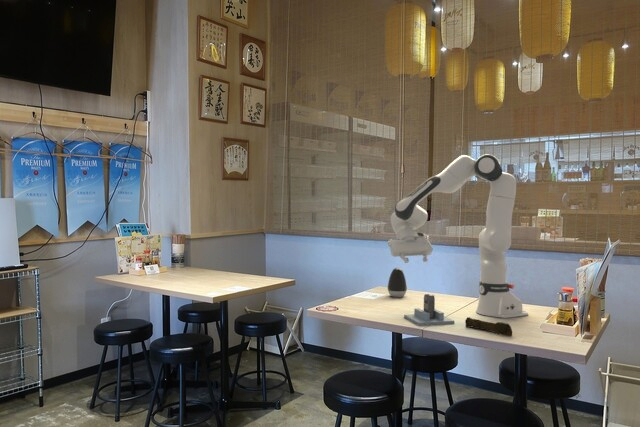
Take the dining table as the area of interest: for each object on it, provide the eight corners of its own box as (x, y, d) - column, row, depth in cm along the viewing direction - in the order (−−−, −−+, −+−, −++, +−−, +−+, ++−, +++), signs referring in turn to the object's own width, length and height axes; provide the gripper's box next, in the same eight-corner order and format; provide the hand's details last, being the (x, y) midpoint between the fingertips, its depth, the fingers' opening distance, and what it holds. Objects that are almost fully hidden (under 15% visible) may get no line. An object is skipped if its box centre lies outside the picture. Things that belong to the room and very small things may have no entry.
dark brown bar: (464, 327, 192) (464, 316, 192) (470, 325, 195) (470, 314, 194) (508, 338, 177) (508, 326, 177) (513, 336, 180) (514, 324, 180)
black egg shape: (404, 294, 258) (404, 266, 258) (408, 298, 248) (409, 269, 248) (385, 294, 258) (385, 266, 257) (389, 298, 247) (390, 269, 247)
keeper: (437, 315, 210) (437, 306, 210) (454, 323, 197) (454, 313, 197) (404, 317, 206) (404, 307, 206) (418, 325, 193) (419, 315, 193)
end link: (429, 316, 204) (430, 293, 203) (434, 318, 200) (434, 294, 200) (423, 316, 203) (423, 293, 203) (427, 319, 199) (428, 295, 199)
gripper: (388, 235, 222) (397, 258, 213) (428, 233, 228) (438, 256, 218) (384, 243, 227) (393, 267, 217) (423, 242, 232) (433, 264, 223)
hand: (416, 261), depth 218 cm, fingers open, 8 cm apart
